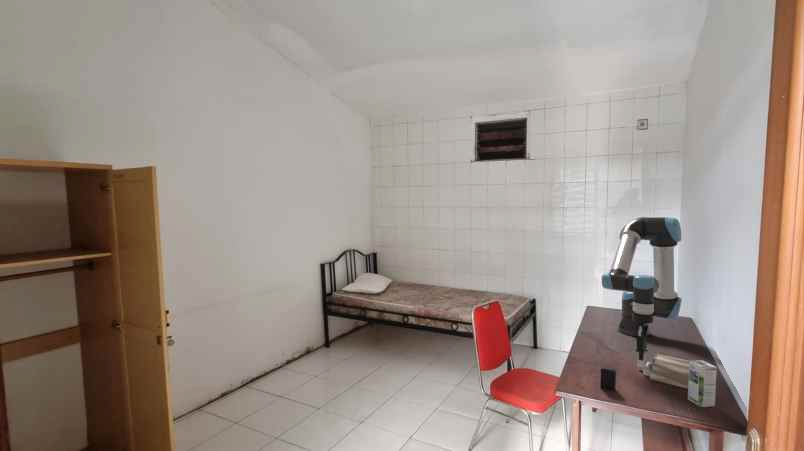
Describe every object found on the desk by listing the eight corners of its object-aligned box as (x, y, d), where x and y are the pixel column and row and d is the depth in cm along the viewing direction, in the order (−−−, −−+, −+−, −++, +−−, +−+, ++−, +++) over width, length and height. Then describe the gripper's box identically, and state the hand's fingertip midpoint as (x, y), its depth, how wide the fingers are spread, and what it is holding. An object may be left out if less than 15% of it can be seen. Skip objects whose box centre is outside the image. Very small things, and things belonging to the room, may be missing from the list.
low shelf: (655, 366, 168) (656, 353, 168) (696, 375, 159) (696, 362, 159) (649, 379, 156) (650, 365, 156) (692, 389, 147) (693, 375, 147)
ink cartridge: (615, 389, 148) (616, 369, 148) (614, 391, 147) (615, 371, 146) (601, 385, 151) (602, 365, 151) (600, 387, 150) (601, 367, 149)
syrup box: (686, 399, 140) (688, 360, 139) (702, 398, 141) (703, 359, 140) (700, 407, 135) (701, 367, 134) (716, 406, 135) (717, 366, 134)
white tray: (647, 367, 168) (647, 361, 168) (687, 376, 159) (687, 370, 159) (643, 375, 160) (643, 369, 160) (684, 385, 151) (684, 379, 151)
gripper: (635, 307, 171) (634, 359, 172) (629, 314, 161) (627, 369, 162) (655, 310, 166) (653, 363, 167) (650, 317, 156) (648, 374, 158)
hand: (641, 366), depth 165 cm, fingers closed
